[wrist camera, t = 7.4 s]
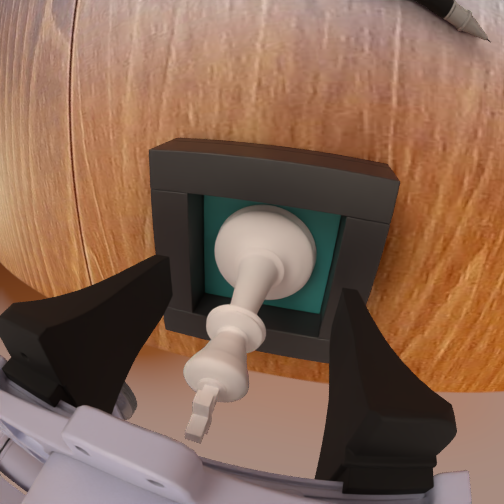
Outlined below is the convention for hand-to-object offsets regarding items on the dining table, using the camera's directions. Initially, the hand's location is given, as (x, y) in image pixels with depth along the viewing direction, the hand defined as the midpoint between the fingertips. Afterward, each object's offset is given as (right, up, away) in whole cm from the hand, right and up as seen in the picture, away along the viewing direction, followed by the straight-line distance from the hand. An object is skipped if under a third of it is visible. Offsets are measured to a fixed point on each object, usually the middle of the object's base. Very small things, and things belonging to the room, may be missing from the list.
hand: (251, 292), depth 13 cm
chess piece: (+1, +2, +3) cm, 4 cm away
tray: (+1, +2, +4) cm, 4 cm away
